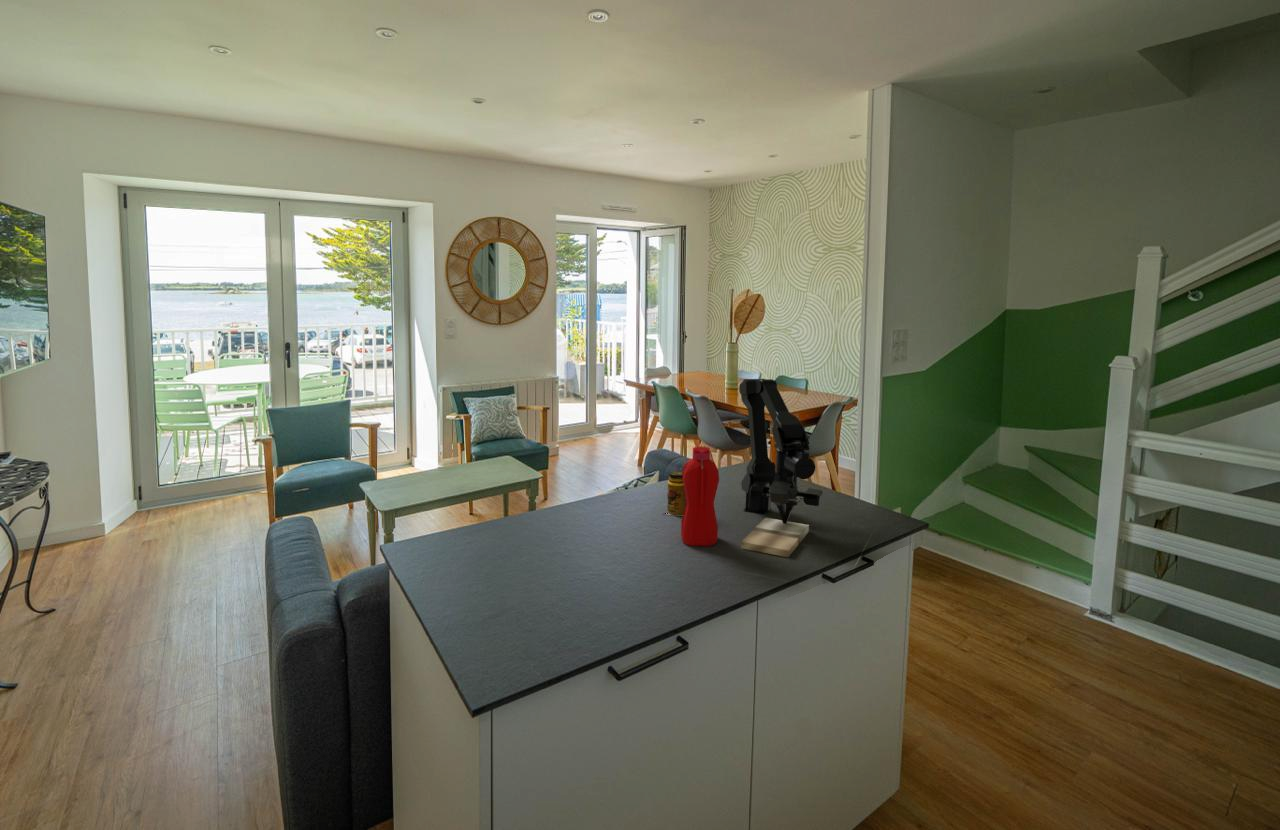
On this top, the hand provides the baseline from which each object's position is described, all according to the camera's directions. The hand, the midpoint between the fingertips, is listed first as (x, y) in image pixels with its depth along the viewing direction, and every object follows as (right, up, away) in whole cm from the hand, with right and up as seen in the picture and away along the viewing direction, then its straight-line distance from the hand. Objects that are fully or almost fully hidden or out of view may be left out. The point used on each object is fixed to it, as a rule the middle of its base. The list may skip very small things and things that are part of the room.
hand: (785, 523), depth 177 cm
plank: (-1, -2, -2) cm, 3 cm away
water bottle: (-24, -4, -8) cm, 26 cm away
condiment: (-28, +1, +16) cm, 32 cm away
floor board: (-6, -4, -11) cm, 13 cm away
